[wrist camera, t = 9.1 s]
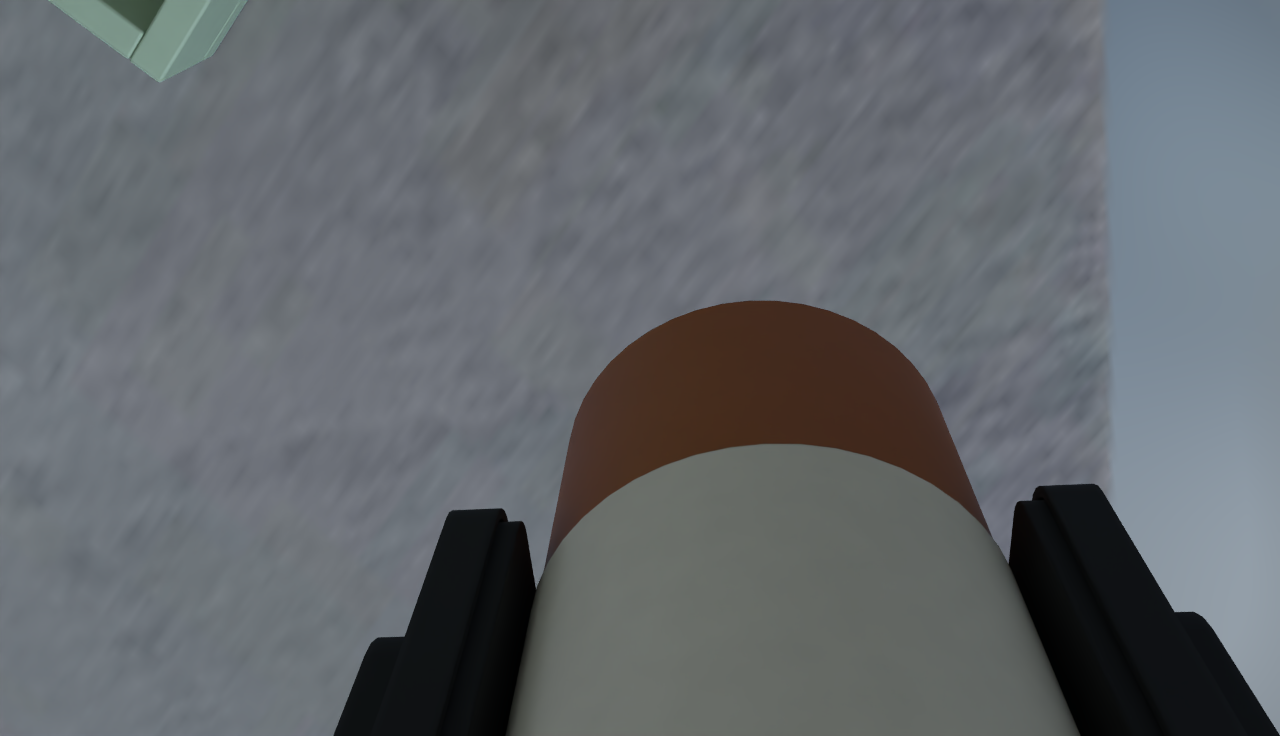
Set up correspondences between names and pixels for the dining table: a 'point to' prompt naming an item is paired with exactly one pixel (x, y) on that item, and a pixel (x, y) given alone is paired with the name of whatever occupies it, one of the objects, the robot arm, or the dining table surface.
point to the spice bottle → (774, 550)
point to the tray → (157, 29)
